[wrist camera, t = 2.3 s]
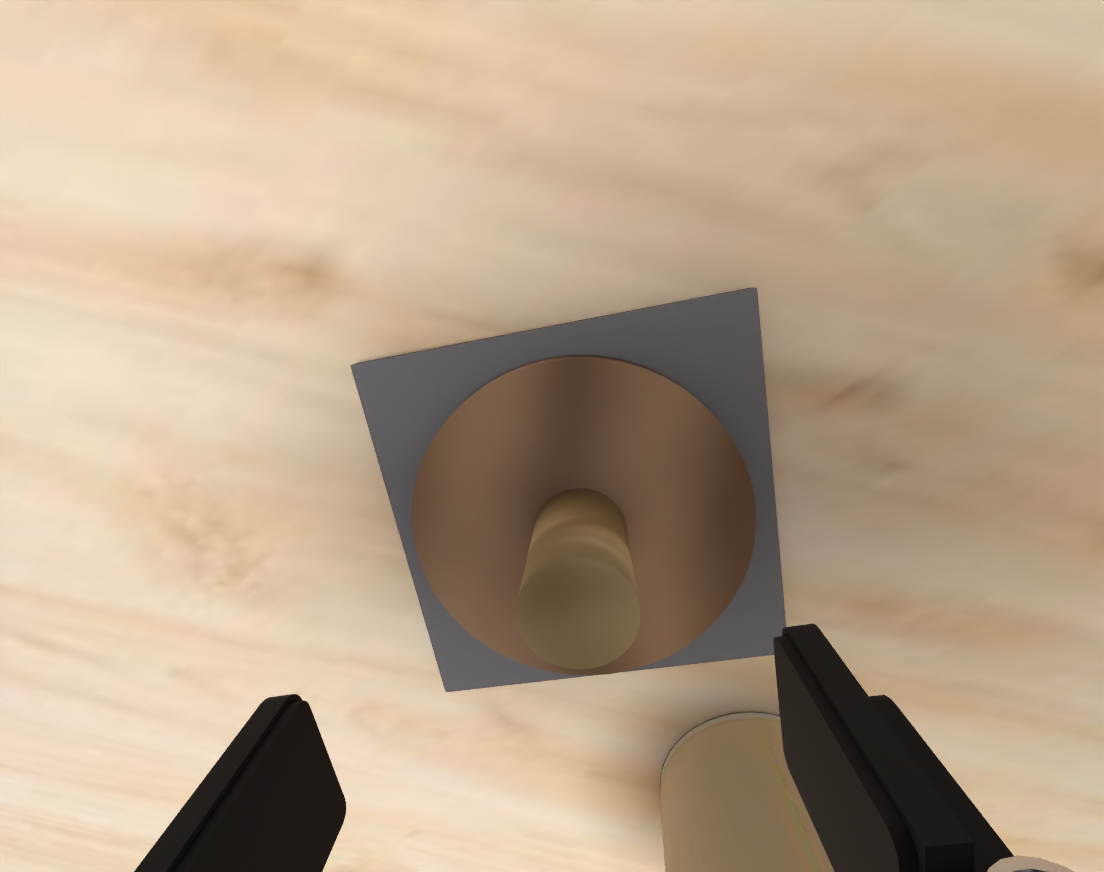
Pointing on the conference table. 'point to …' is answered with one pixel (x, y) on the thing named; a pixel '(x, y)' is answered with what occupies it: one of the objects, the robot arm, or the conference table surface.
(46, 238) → the conference table surface
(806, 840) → the coffee cup
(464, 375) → the mat
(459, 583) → the lid
